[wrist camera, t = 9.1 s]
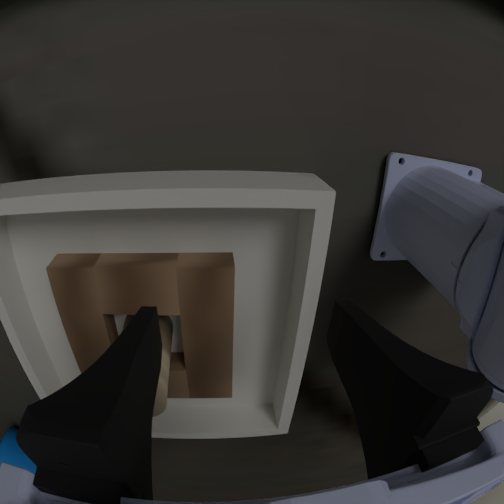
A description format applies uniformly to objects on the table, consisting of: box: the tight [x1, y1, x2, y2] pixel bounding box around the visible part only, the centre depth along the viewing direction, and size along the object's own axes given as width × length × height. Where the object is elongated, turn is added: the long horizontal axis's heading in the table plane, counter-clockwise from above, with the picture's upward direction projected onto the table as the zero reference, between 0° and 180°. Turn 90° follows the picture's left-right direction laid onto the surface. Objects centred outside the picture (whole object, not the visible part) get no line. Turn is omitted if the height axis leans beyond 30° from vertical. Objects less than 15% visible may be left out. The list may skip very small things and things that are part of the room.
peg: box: [122, 315, 173, 417], centre depth 19 cm, size 4×4×7 cm
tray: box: [0, 171, 336, 439], centre depth 22 cm, size 22×22×4 cm
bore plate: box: [46, 252, 235, 398], centre depth 22 cm, size 12×12×2 cm
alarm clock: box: [0, 427, 37, 474], centre depth 24 cm, size 13×6×15 cm, turn 148°
